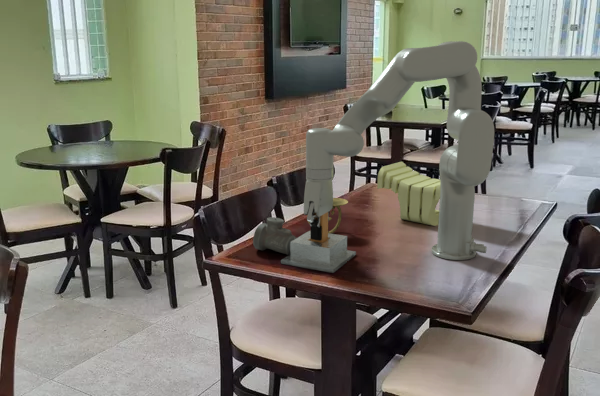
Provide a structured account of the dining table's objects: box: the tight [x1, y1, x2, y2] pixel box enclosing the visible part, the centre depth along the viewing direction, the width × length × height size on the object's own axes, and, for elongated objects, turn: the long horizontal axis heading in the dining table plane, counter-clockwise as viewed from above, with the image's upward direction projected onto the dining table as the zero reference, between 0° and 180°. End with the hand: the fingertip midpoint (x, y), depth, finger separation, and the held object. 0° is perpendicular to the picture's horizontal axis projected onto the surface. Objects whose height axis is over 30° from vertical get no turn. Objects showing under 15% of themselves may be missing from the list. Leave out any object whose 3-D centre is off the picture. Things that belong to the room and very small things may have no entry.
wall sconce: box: [306, 197, 349, 234], centre depth 184 cm, size 14×10×25 cm
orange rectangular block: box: [311, 212, 329, 243], centre depth 163 cm, size 4×4×10 cm
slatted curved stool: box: [377, 161, 440, 227], centre depth 202 cm, size 30×16×18 cm, turn 49°
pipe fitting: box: [252, 216, 297, 256], centre depth 170 cm, size 12×8×10 cm
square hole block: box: [280, 230, 357, 274], centre depth 165 cm, size 16×16×6 cm
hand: (319, 236), depth 164 cm, fingers closed on orange rectangular block, 3 cm apart
